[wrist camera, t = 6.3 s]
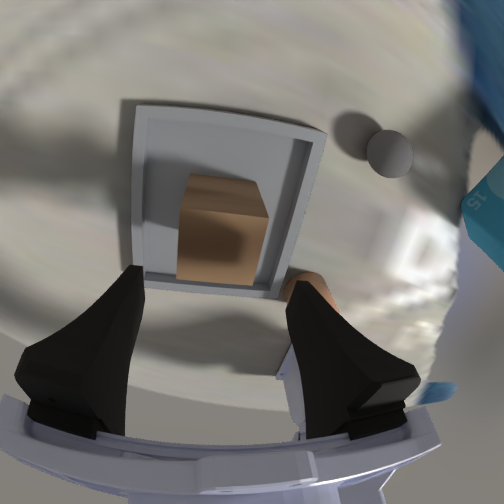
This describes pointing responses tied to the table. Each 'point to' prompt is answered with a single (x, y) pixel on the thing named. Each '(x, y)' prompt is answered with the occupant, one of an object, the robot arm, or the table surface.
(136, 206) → the tray
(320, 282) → the peach rounded tapered piece
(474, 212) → the data package
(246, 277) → the walnut block
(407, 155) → the rubber ball
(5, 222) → the table surface
